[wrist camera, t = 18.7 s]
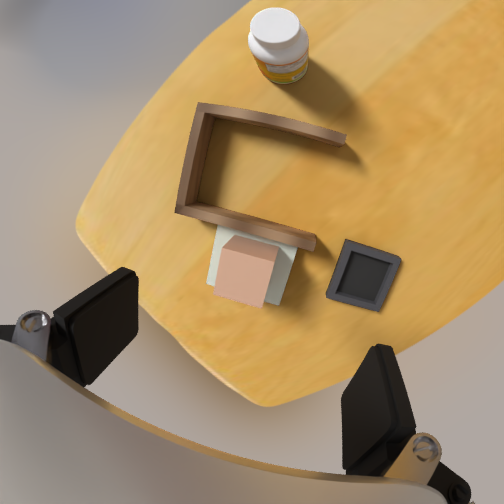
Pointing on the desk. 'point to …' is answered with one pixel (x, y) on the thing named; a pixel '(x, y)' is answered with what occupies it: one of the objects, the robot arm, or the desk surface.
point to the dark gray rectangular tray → (362, 276)
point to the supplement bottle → (279, 45)
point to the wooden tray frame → (196, 161)
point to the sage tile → (280, 267)
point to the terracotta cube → (245, 270)
